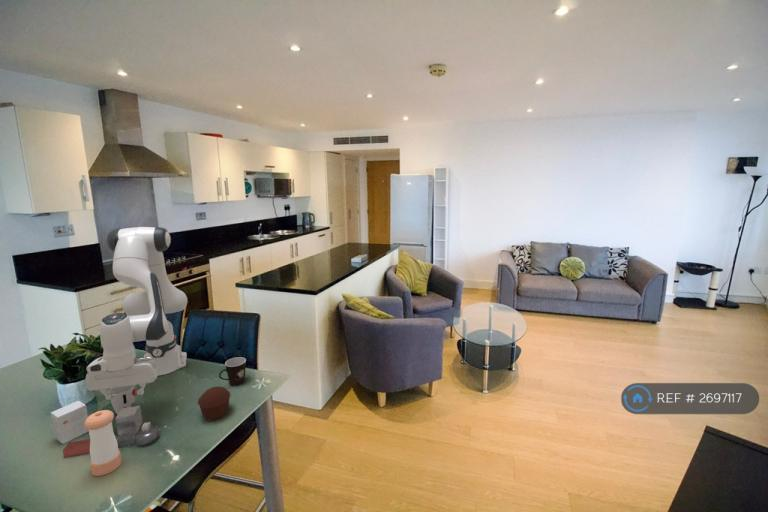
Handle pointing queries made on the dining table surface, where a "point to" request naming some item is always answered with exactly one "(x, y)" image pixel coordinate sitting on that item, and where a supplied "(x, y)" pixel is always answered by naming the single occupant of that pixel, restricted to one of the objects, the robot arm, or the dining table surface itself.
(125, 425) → the light grey cube
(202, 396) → the muffin
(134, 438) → the ratchet
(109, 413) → the pepper shaker
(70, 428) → the small box
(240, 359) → the coffee mug
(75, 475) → the dining table surface
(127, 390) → the cup
